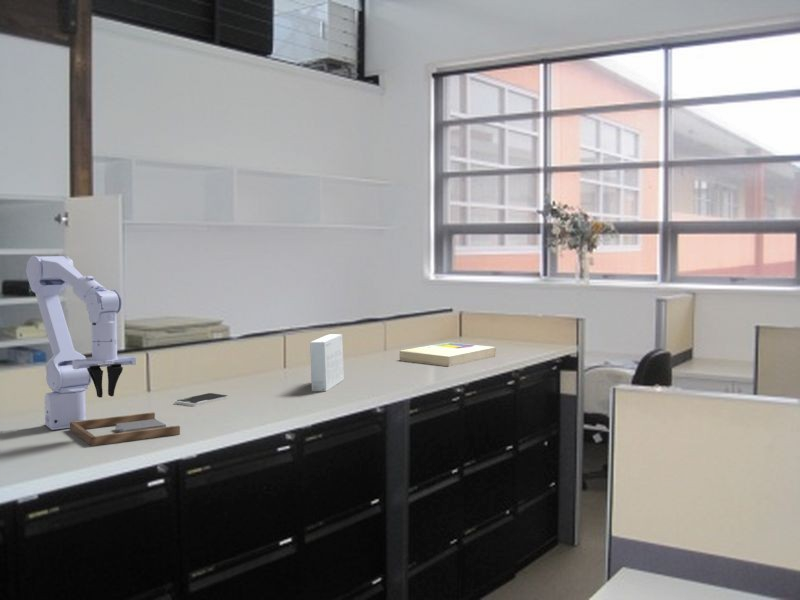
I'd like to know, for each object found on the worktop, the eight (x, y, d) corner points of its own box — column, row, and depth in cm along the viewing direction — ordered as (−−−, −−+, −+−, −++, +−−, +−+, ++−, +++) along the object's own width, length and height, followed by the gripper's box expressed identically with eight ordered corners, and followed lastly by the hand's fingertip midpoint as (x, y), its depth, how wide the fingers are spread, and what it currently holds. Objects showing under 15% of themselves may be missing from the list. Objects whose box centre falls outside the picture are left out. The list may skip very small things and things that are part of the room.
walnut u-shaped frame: (91, 446, 189) (91, 437, 189) (70, 429, 205) (70, 422, 205) (179, 434, 202) (179, 426, 202) (153, 419, 217) (153, 412, 217)
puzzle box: (398, 362, 328) (448, 367, 313) (398, 350, 327) (448, 355, 313) (449, 352, 356) (497, 357, 342) (449, 342, 356) (497, 346, 342)
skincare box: (328, 379, 281) (328, 333, 280) (344, 380, 280) (344, 334, 279) (309, 391, 261) (309, 341, 259) (326, 391, 260) (326, 341, 258)
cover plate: (125, 438, 199) (125, 429, 199) (115, 431, 206) (115, 423, 206) (166, 432, 205) (165, 424, 205) (155, 426, 212) (154, 418, 212)
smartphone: (228, 395, 248) (193, 403, 235) (228, 399, 248) (193, 408, 235) (209, 392, 251) (173, 400, 238) (209, 397, 252) (173, 405, 239)
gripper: (77, 344, 191) (78, 402, 192) (139, 340, 200) (140, 395, 201) (69, 341, 197) (70, 397, 198) (130, 337, 206) (131, 391, 207)
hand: (105, 396), depth 200 cm, fingers closed
